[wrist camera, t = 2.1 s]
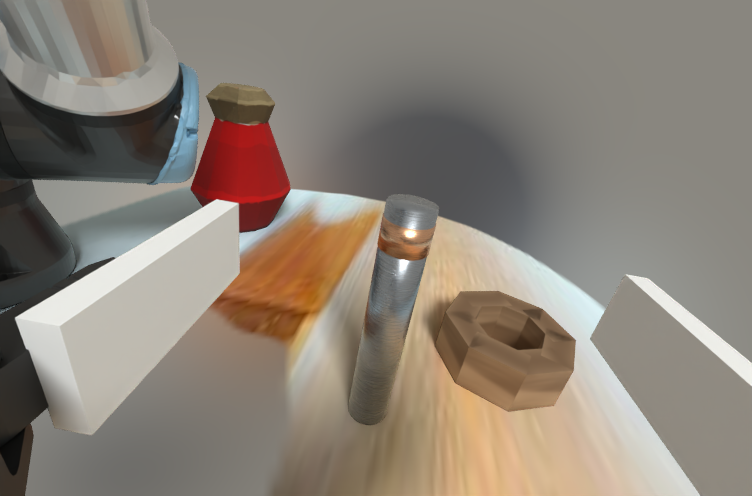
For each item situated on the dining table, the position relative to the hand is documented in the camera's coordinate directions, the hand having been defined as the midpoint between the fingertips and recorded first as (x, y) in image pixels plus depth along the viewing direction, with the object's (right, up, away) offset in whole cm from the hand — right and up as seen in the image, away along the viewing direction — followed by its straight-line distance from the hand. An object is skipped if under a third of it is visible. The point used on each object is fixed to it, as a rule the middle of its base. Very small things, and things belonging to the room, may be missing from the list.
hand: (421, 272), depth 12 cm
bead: (+11, -11, +25) cm, 29 cm away
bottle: (-23, +5, +45) cm, 51 cm away
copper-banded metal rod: (-2, -12, +17) cm, 21 cm away
